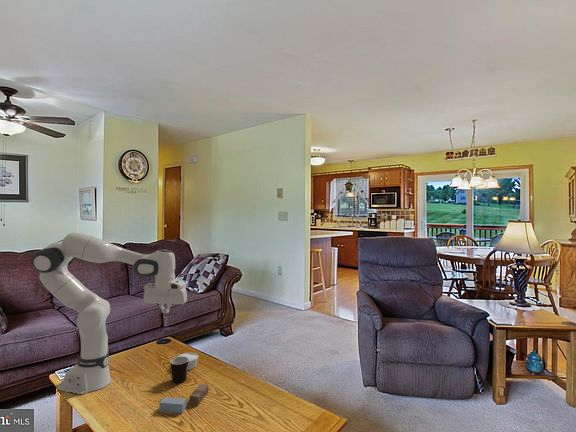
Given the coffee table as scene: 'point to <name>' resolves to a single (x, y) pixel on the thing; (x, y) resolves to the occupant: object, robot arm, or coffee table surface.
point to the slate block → (173, 405)
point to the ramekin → (190, 359)
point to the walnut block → (198, 394)
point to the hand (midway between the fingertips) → (165, 312)
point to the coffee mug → (179, 369)
